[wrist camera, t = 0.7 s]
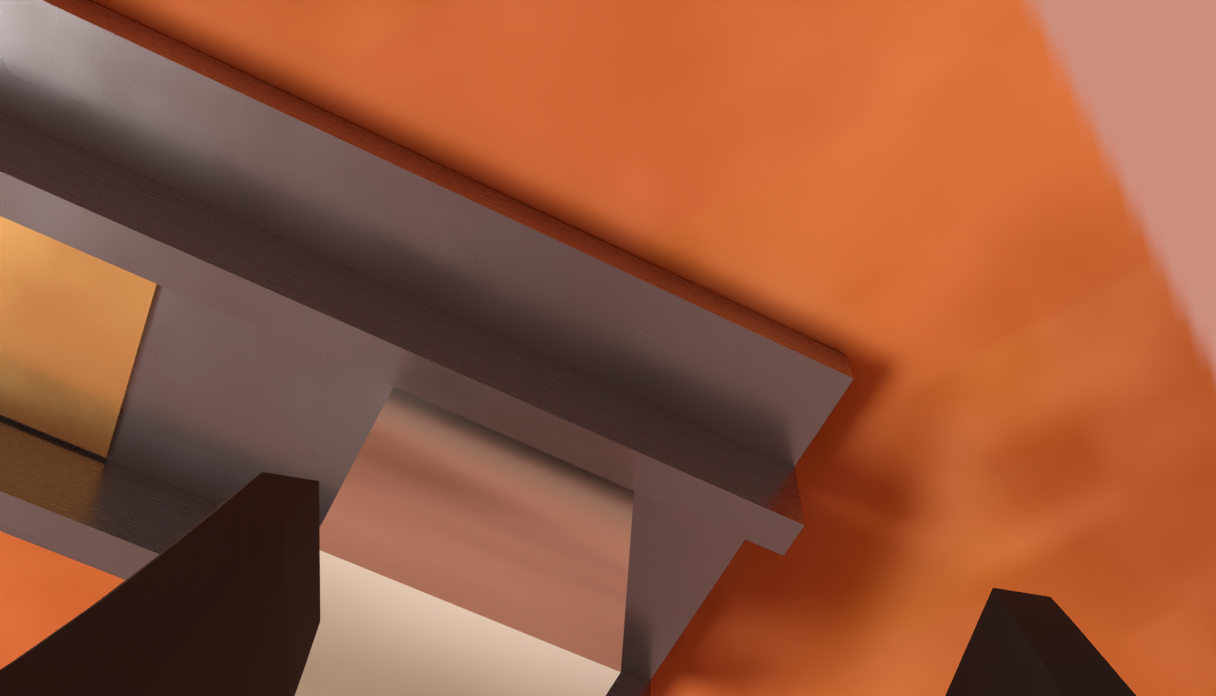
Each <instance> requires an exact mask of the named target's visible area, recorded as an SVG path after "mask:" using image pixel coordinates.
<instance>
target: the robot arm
mask: <svg viewBox="0 0 1216 696" xmlns="http://www.w3.org/2000/svg"><path fill="white" fill-rule="evenodd" d="M319 624H320V528H319V481H316V480H310V479H303V478H297V477H291V476H284V475H278V474H272V473H265V472H262V473H260V474H259V475H257V476H256V477H254V478H253V479H251V480H250V481H249V482H248V483H247V484H245V485H244V486H243V487H242V488H240V489H239V490H238V491H237V492H235V493H234V494H233V495H232V496H231V497H229V498H228V499H227V500H226V501H224V502H223V503H222V504H221V505H220V506H218V507H217V508H216V509H215V510H214V511H212V512H211V513H210V514H209V515H207V516H206V517H205V518H204V519H203V520H201V521H200V522H199V523H198V524H196V525H195V526H194V527H193V528H192V529H190V530H189V531H188V532H187V533H185V534H184V535H183V536H182V537H180V538H179V539H178V540H177V541H175V542H174V543H173V544H172V545H170V546H169V547H168V548H167V549H165V550H164V551H163V552H162V553H160V554H159V555H158V556H157V557H155V558H154V559H153V560H151V561H150V562H149V563H147V564H146V565H145V566H144V567H142V568H141V569H140V570H138V571H137V572H136V573H134V574H133V575H132V576H131V577H129V578H128V579H127V580H125V581H124V582H123V583H121V584H120V585H119V586H118V587H116V588H115V589H114V590H112V591H111V592H110V593H108V594H107V595H106V596H105V597H103V598H102V599H101V600H99V601H98V602H96V603H95V604H94V605H92V606H91V607H90V608H88V609H87V610H86V611H84V612H83V613H81V614H80V615H78V616H77V617H76V618H74V619H73V620H71V621H70V622H68V623H67V624H66V625H64V626H63V627H61V628H60V629H58V630H57V631H56V632H54V633H53V634H51V635H50V636H48V637H47V638H46V639H44V640H43V641H41V642H40V643H39V644H37V645H36V646H34V647H33V648H31V649H30V650H29V651H27V652H26V653H24V654H23V655H21V656H20V657H19V658H17V659H16V660H14V661H13V662H11V663H10V664H8V665H7V666H5V667H4V668H2V669H1V670H0V696H295V693H296V691H297V688H298V685H299V682H300V679H301V677H302V674H303V671H304V668H305V665H306V662H307V659H308V656H309V653H310V650H311V647H312V644H313V641H314V638H315V636H316V633H317V630H318V627H319ZM946 696H1136V695H1135V694H1134V693H1133V691H1132V690H1131V689H1130V688H1129V687H1128V686H1127V684H1126V683H1125V682H1124V681H1123V680H1122V679H1121V677H1120V676H1119V675H1118V674H1117V673H1116V672H1115V670H1114V669H1113V668H1112V667H1111V666H1110V665H1109V663H1108V662H1107V661H1106V660H1105V659H1104V658H1103V656H1102V655H1101V654H1100V653H1099V652H1098V651H1097V649H1096V648H1095V647H1094V646H1093V645H1092V643H1091V642H1090V641H1089V640H1088V639H1087V638H1086V636H1085V635H1084V634H1083V633H1082V632H1081V631H1080V630H1079V628H1078V627H1077V626H1076V625H1075V624H1074V623H1073V622H1072V620H1071V619H1070V618H1069V617H1068V616H1067V615H1066V614H1065V612H1064V611H1063V610H1062V609H1061V608H1060V607H1059V606H1058V605H1057V604H1056V603H1055V602H1054V600H1053V599H1052V598H1051V597H1047V596H1041V595H1034V594H1028V593H1022V592H1015V591H1009V590H1003V589H997V588H993V589H992V591H991V594H990V596H989V598H988V600H987V603H986V605H985V607H984V609H983V612H982V614H981V616H980V619H979V621H978V623H977V625H976V628H975V630H974V632H973V634H972V637H971V639H970V641H969V644H968V646H967V648H966V650H965V653H964V655H963V657H962V659H961V662H960V664H959V666H958V668H957V671H956V673H955V675H954V678H953V680H952V682H951V684H950V687H949V689H948V691H947V693H946Z"/></svg>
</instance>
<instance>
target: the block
mask: <svg viewBox="0 0 1216 696" xmlns="http://www.w3.org/2000/svg"><path fill="white" fill-rule="evenodd" d="M633 498H634V491H633V490H631V489H628V488H626V487H624V486H621V485H619V484H617V483H614V482H612V481H610V480H607V479H605V478H603V477H601V476H598V475H596V474H594V473H591V472H589V471H587V470H584V469H582V468H580V467H578V466H575V465H573V464H571V463H568V462H566V461H564V460H561V459H559V458H557V457H554V456H552V455H550V454H548V453H545V452H543V451H541V450H538V449H536V448H534V447H531V446H529V445H527V444H525V443H522V442H520V441H518V440H515V439H513V438H511V437H508V436H506V435H504V434H501V433H499V432H497V431H495V430H492V429H490V428H488V427H485V426H483V425H481V424H478V423H476V422H474V421H472V420H469V419H467V418H465V417H462V416H460V415H458V414H455V413H453V412H451V411H448V410H446V409H444V408H442V407H439V406H437V405H435V404H432V403H430V402H428V401H425V400H423V399H421V398H419V397H416V396H414V395H412V394H409V393H407V392H405V391H402V390H400V389H398V388H395V387H393V389H392V391H391V393H390V395H389V396H388V398H387V400H386V402H385V404H384V406H383V408H382V410H381V412H380V414H379V416H378V417H377V419H376V421H375V423H374V425H373V427H372V429H371V431H370V433H369V435H368V437H367V438H366V440H365V442H364V444H363V446H362V448H361V450H360V452H359V454H358V456H357V458H356V459H355V461H354V463H353V465H352V467H351V469H350V471H349V473H348V475H347V477H346V478H345V480H344V482H343V484H342V486H341V488H340V490H339V492H338V494H337V496H336V498H335V499H334V501H333V503H332V505H331V507H330V509H329V511H328V513H327V515H326V517H325V519H324V520H323V522H322V524H321V526H320V624H319V627H318V630H317V633H316V636H315V638H314V641H313V644H312V647H311V650H310V653H309V656H308V659H307V662H306V665H305V668H304V671H303V674H302V677H301V679H300V682H299V685H298V688H297V691H296V693H295V696H606V694H607V693H608V691H609V690H610V688H611V686H612V685H613V683H614V682H615V680H616V679H617V677H618V676H619V674H620V673H621V662H622V648H623V634H624V621H625V607H626V594H627V580H628V566H629V553H630V539H631V526H632V512H633Z"/></svg>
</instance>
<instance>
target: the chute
mask: <svg viewBox="0 0 1216 696" xmlns="http://www.w3.org/2000/svg"><path fill="white" fill-rule="evenodd" d="M853 379H854V378H853V374H852V371H851V368H850V365H849V362H848V359H847V356H846V355H844V354H842V353H840V352H838V351H836V350H834V349H831V348H829V347H827V346H825V345H823V344H821V343H819V342H817V341H814V340H812V339H810V338H808V337H806V336H804V335H802V334H800V333H797V332H795V331H793V330H791V329H789V328H787V327H785V326H782V325H780V324H778V323H776V322H774V321H772V320H770V319H768V318H765V317H763V316H761V315H759V314H757V313H755V312H753V311H751V310H748V309H746V308H744V307H742V306H740V305H738V304H736V303H733V302H731V301H729V300H727V299H725V298H723V297H721V296H719V295H716V294H714V293H712V292H710V291H708V290H706V289H704V288H701V287H699V286H697V285H695V284H693V283H691V282H689V281H687V280H684V279H682V278H680V277H678V276H676V275H674V274H672V273H670V272H667V271H665V270H663V269H661V268H659V267H657V266H655V265H652V264H650V263H648V262H646V261H644V260H642V259H640V258H638V257H635V256H633V255H631V254H629V253H627V252H625V251H623V250H621V249H618V248H616V247H614V246H612V245H610V244H608V243H606V242H603V241H601V240H599V239H597V238H595V237H593V236H591V235H589V234H586V233H584V232H582V231H580V230H578V229H576V228H574V227H571V226H569V225H567V224H565V223H563V222H561V221H559V220H557V219H554V218H552V217H550V216H548V215H546V214H544V213H542V212H540V211H537V210H535V209H533V208H531V207H529V206H527V205H525V204H522V203H520V202H518V201H516V200H514V199H512V198H510V197H508V196H505V195H503V194H501V193H499V192H497V191H495V190H493V189H491V188H488V187H486V186H484V185H482V184H480V183H478V182H476V181H473V180H471V179H469V178H467V177H465V176H463V175H461V174H459V173H456V172H454V171H452V170H450V169H448V168H446V167H444V166H441V165H439V164H437V163H435V162H433V161H431V160H429V159H427V158H424V157H422V156H420V155H418V154H416V153H414V152H412V151H410V150H407V149H405V148H403V147H401V146H399V145H397V144H395V143H392V142H390V141H388V140H386V139H384V138H382V137H380V136H378V135H375V134H373V133H371V132H369V131H367V130H365V129H363V128H361V127H358V126H356V125H354V124H352V123H350V122H348V121H346V120H343V119H341V118H339V117H337V116H335V115H333V114H331V113H329V112H326V111H324V110H322V109H320V108H318V107H316V106H314V105H311V104H309V103H307V102H305V101H303V100H301V99H299V98H297V97H294V96H292V95H290V94H288V93H286V92H284V91H282V90H280V89H277V88H275V87H273V86H271V85H269V84H267V83H265V82H262V81H260V80H258V79H256V78H254V77H252V76H250V75H248V74H245V73H243V72H241V71H239V70H237V69H235V68H233V67H231V66H228V65H226V64H224V63H222V62H220V61H218V60H216V59H213V58H211V57H209V56H207V55H205V54H203V53H201V52H199V51H196V50H194V49H192V48H190V47H188V46H186V45H184V44H181V43H179V42H177V41H175V40H173V39H171V38H169V37H167V36H164V35H162V34H160V33H158V32H156V31H154V30H152V29H150V28H147V27H145V26H143V25H141V24H139V23H137V22H135V21H132V20H130V19H128V18H126V17H124V16H122V15H120V14H118V13H115V12H113V11H111V10H109V9H107V8H105V7H103V6H101V5H98V4H96V3H94V2H92V1H90V0H0V531H2V532H4V533H7V534H10V535H12V536H15V537H17V538H20V539H22V540H25V541H28V542H30V543H33V544H35V545H38V546H40V547H43V548H45V549H48V550H51V551H53V552H56V553H58V554H61V555H63V556H66V557H68V558H71V559H74V560H76V561H79V562H81V563H84V564H86V565H89V566H91V567H94V568H97V569H99V570H102V571H104V572H107V573H109V574H112V575H115V576H117V577H120V578H122V579H125V580H127V579H128V578H129V577H131V576H132V575H133V574H134V573H136V572H137V571H138V570H140V569H141V568H142V567H144V566H145V565H146V564H147V563H149V562H150V561H151V560H153V559H154V558H155V557H157V556H158V555H159V554H160V553H162V552H163V551H164V550H165V549H167V548H168V547H169V546H170V545H172V544H173V543H174V542H175V541H177V540H178V539H179V538H180V537H182V536H183V535H184V534H185V533H187V532H188V531H189V530H190V529H192V528H193V527H194V526H195V525H196V524H198V523H199V522H200V521H201V520H203V519H204V518H205V517H206V516H207V515H209V514H210V513H211V512H212V511H214V510H215V509H216V508H217V507H218V506H220V505H221V504H222V503H223V502H224V501H226V500H227V499H228V498H229V497H231V496H232V495H233V494H234V493H235V492H237V491H238V490H239V489H240V488H242V487H243V486H244V485H245V484H247V483H248V482H249V481H250V480H251V479H253V478H254V477H256V476H257V475H259V474H260V473H262V472H265V473H272V474H278V475H284V476H291V477H297V478H303V479H310V480H316V481H319V528H320V526H321V524H322V522H323V520H324V519H325V517H326V515H327V513H328V511H329V509H330V507H331V505H332V503H333V501H334V499H335V498H336V496H337V494H338V492H339V490H340V488H341V486H342V484H343V482H344V480H345V478H346V477H347V475H348V473H349V471H350V469H351V467H352V465H353V463H354V461H355V459H356V458H357V456H358V454H359V452H360V450H361V448H362V446H363V444H364V442H365V440H366V438H367V437H368V435H369V433H370V431H371V429H372V427H373V425H374V423H375V421H376V419H377V417H378V416H379V414H380V412H381V410H382V408H383V406H384V404H385V402H386V400H387V398H388V396H389V395H390V393H391V391H392V389H393V387H395V388H398V389H400V390H402V391H405V392H407V393H409V394H412V395H414V396H416V397H419V398H421V399H423V400H425V401H428V402H430V403H432V404H435V405H437V406H439V407H442V408H444V409H446V410H448V411H451V412H453V413H455V414H458V415H460V416H462V417H465V418H467V419H469V420H472V421H474V422H476V423H478V424H481V425H483V426H485V427H488V428H490V429H492V430H495V431H497V432H499V433H501V434H504V435H506V436H508V437H511V438H513V439H515V440H518V441H520V442H522V443H525V444H527V445H529V446H531V447H534V448H536V449H538V450H541V451H543V452H545V453H548V454H550V455H552V456H554V457H557V458H559V459H561V460H564V461H566V462H568V463H571V464H573V465H575V466H578V467H580V468H582V469H584V470H587V471H589V472H591V473H594V474H596V475H598V476H601V477H603V478H605V479H607V480H610V481H612V482H614V483H617V484H619V485H621V486H624V487H626V488H628V489H631V490H633V491H634V498H633V512H632V526H631V539H630V553H629V566H628V580H627V594H626V607H625V621H624V634H623V648H622V662H621V673H620V674H619V676H618V677H617V679H616V680H615V682H614V683H613V685H612V686H611V688H610V690H609V691H608V693H607V694H606V696H650V686H651V678H652V677H653V676H654V674H655V673H656V671H657V670H658V668H659V667H660V665H661V664H662V662H663V661H664V659H665V658H666V656H667V655H668V653H669V652H670V650H671V649H672V647H673V646H674V644H675V643H676V641H677V640H678V639H679V637H680V636H681V634H682V633H683V631H684V630H685V628H686V627H687V625H688V624H689V622H690V621H691V619H692V618H693V616H694V615H695V613H696V612H697V610H698V609H699V607H700V606H701V604H702V603H703V601H704V600H705V599H706V597H707V596H708V594H709V593H710V591H711V590H712V588H713V587H714V585H715V584H716V582H717V581H718V579H719V578H720V576H721V575H722V573H723V572H724V570H725V569H726V567H727V566H728V564H729V563H730V561H731V560H732V559H733V557H734V556H735V554H736V553H737V551H738V550H739V548H740V547H741V545H742V544H743V542H744V541H745V539H746V540H748V541H750V542H753V543H755V544H757V545H760V546H762V547H764V548H766V549H769V550H771V551H773V552H776V553H778V554H780V555H783V556H784V554H785V553H786V551H787V550H788V549H789V547H790V546H791V544H792V543H793V541H794V540H795V539H796V537H797V536H798V534H799V533H800V532H801V530H802V529H803V527H804V526H805V524H804V518H803V513H802V507H801V502H800V496H799V490H798V485H797V479H796V473H795V468H794V467H795V465H796V464H797V462H798V461H799V459H800V458H801V456H802V455H803V453H804V452H805V450H806V449H807V447H808V446H809V444H810V443H811V441H812V440H813V439H814V437H815V436H816V434H817V433H818V431H819V430H820V428H821V427H822V425H823V424H824V422H825V421H826V419H827V418H828V416H829V415H830V413H831V412H832V410H833V409H834V407H835V406H836V404H837V403H838V401H839V400H840V399H841V397H842V396H843V394H844V393H845V391H846V390H847V388H848V387H849V385H850V384H851V382H852V381H853Z"/></svg>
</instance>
